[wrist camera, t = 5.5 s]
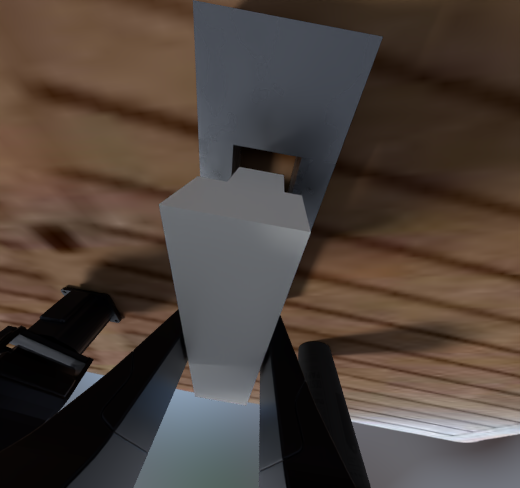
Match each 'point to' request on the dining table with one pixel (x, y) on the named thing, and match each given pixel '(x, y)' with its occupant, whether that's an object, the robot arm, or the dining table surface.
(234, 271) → the clip
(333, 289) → the dining table surface
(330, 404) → the drinking cup
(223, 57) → the rail
